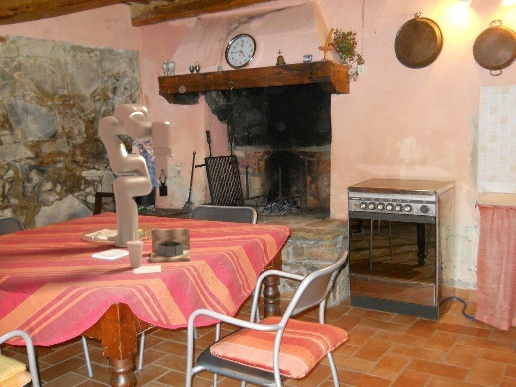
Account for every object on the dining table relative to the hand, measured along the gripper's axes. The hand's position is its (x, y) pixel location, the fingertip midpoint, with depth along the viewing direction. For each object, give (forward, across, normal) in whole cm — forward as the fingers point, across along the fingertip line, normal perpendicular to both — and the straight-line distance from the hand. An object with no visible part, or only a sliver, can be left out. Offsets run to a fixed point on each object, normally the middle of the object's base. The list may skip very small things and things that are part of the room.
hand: (163, 194), depth 210 cm
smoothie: (+27, +10, -12) cm, 31 cm away
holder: (+26, -3, +2) cm, 27 cm away
